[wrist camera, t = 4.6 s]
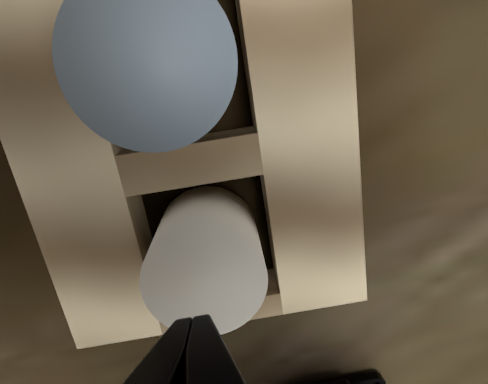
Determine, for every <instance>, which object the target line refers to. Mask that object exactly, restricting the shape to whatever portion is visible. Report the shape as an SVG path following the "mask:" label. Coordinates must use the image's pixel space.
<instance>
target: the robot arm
mask: <svg viewBox="0 0 488 384" xmlns="http://www.w3.org/2000/svg"><path fill="white" fill-rule="evenodd" d="M373 383H374V384H386V383H385V381H384V379H383V377H382V375H381V374H380V373H377V372H372V373H366V374H360V375H354V376H348V377H342V378H337V379H331V380H325V381H319V382H313V383H307V384H373ZM122 384H246V382H245V380H244V378H243V376H242V374H241V372H240V371H239V369H238V367H237V365H236V363H235V361H234V359H233V357H232V356H231V354H230V352H229V350H228V348H227V346H226V344H225V342H224V341H223V339H222V337H221V335H220V333H219V331H218V329H217V327H216V325H215V324H214V322H213V320H212V318H211V316H210V315H209V314H205V315H199V316H195V317H193V319H192V318H191V317H187V318H181V319H177V320H175V321H174V322H173V323H172V325H171V326H170V327H169V328H168V329H167V331H166V332H165V333H164V334H163V335H162V337H161V338H160V339H159V340H158V341H157V343H156V344H155V345H154V346H153V347H152V349H151V350H150V351H149V352H148V353H147V355H146V356H145V357H144V358H143V359H142V361H141V362H140V363H139V364H138V365H137V367H136V368H135V369H134V370H133V371H132V373H131V374H130V375H129V376H128V377H127V379H126V380H125V381H124V382H123V383H122Z"/></svg>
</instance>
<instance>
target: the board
mask: <svg viewBox="0 0 488 384" xmlns="http://www.w3.org/2000/svg"><path fill="white" fill-rule="evenodd" d="M63 1H64V0H0V140H1V143H2V146H3V148H4V151H5V154H6V157H7V159H8V162H9V165H10V167H11V170H12V173H13V176H14V178H15V181H16V184H17V187H18V189H19V192H20V195H21V197H22V200H23V203H24V206H25V208H26V211H27V214H28V216H29V219H30V222H31V225H32V227H33V230H34V233H35V235H36V238H37V241H38V244H39V246H40V249H41V252H42V254H43V257H44V260H45V263H46V265H47V268H48V271H49V274H50V276H51V279H52V282H53V284H54V287H55V290H56V293H57V295H58V298H59V301H60V303H61V306H62V309H63V312H64V314H65V317H66V320H67V322H68V325H69V328H70V331H71V333H72V336H73V339H74V341H75V344H76V347H77V349H82V348H87V347H93V346H99V345H105V344H111V343H117V342H123V341H129V340H135V339H141V338H147V337H153V336H159V335H163V334H164V333H165V332H166V331H167V329H168V327H166V326H165V325H163V324H162V323H161V322H159V321H158V320H157V319H156V318H155V317H154V316H153V315H152V314H151V312H150V311H149V310H148V308H147V307H146V305H145V303H144V301H143V298H142V295H141V291H140V285H139V277H140V270H141V266H142V263H143V261H144V259H145V256H146V254H147V252H148V250H149V247H150V245H151V243H152V240H153V239H152V235H151V231H150V228H149V224H148V220H147V216H146V212H145V208H144V204H143V200H142V196H141V195H142V194H148V193H154V192H160V191H167V190H173V189H179V188H185V187H191V186H197V185H203V184H209V183H215V182H222V181H228V180H234V179H240V178H246V177H252V176H258V175H260V178H261V185H262V192H263V199H264V206H265V213H266V220H267V227H268V234H269V241H270V248H271V255H272V262H273V269H267V273H268V288H267V292H266V296H265V299H264V301H263V303H262V305H261V307H260V308H259V310H258V311H257V313H256V314H255V315H254V316H253V317H252V318H251V319H250V320H253V319H259V318H265V317H271V316H277V315H283V314H289V313H295V312H301V311H307V310H313V309H319V308H324V307H330V306H336V305H342V304H348V303H354V302H360V301H366V300H367V286H366V267H365V247H364V228H363V208H362V189H361V169H360V150H359V130H358V111H357V92H356V72H355V53H354V33H353V14H352V0H235V4H236V11H237V18H238V25H239V32H240V39H241V46H242V53H243V60H244V67H245V74H246V81H247V88H248V95H249V102H250V109H251V116H252V123H253V126H249V127H243V128H237V129H231V130H224V131H218V132H212V133H207V134H205V135H204V136H203V137H201V138H200V139H198V140H197V141H195V142H193V143H191V144H189V145H187V146H185V147H182V148H179V149H176V150H172V151H168V152H159V153H147V152H139V151H133V150H129V149H126V148H122V147H120V146H117V145H115V144H113V143H111V142H109V141H107V140H105V139H104V138H102V137H100V136H99V135H98V134H96V133H95V132H93V131H92V130H91V129H90V128H89V127H88V126H87V125H85V124H84V123H83V122H82V121H81V120H80V118H79V117H78V116H77V115H76V114H75V112H74V111H73V110H72V108H71V107H70V105H69V104H68V102H67V101H66V99H65V97H64V95H63V93H62V91H61V89H60V86H59V83H58V80H57V78H56V74H55V70H54V65H53V57H52V36H53V29H54V24H55V21H56V17H57V14H58V12H59V9H60V7H61V5H62V3H63Z"/></svg>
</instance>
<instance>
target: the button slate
mask: <svg viewBox="0 0 488 384" xmlns="http://www.w3.org/2000/svg"><path fill="white" fill-rule="evenodd" d="M52 57H53V65H54V70H55V74H56V78H57V80H58V83H59V86H60V89H61V91H62V93H63V95H64V97H65V99H66V101H67V102H68V104H69V105H70V107H71V108H72V110H73V111H74V112H75V114H76V115H77V116H78V117H79V118H80V120H81V121H82V122H83V123H84V124H85V125H87V126H88V127H89V128H90V129H91V130H92V131H93V132H95V133H96V134H98V135H99V136H100V137H102V138H104V139H105V140H107V141H109V142H111V143H113V144H115V145H117V146H120V147H122V148H126V149H129V150H133V151H139V152H147V153H159V152H168V151H172V150H176V149H179V148H182V147H185V146H187V145H189V144H191V143H193V142H195V141H197V140H198V139H200V138H201V137H203V136H204V135H205V134H207V133H208V132H209V131H210V130H211V129H212V128H213V127H214V126H215V125H216V124H217V122H218V121H219V120H220V119H221V117H222V116H223V114H224V112H225V111H226V109H227V107H228V105H229V103H230V101H231V98H232V96H233V92H234V89H235V86H236V80H237V73H238V56H237V47H236V42H235V37H234V34H233V31H232V28H231V25H230V22H229V20H228V18H227V16H226V14H225V12H224V10H223V9H222V7H221V6H220V4H219V3H218V1H217V0H64V1H63V3H62V5H61V7H60V9H59V12H58V14H57V17H56V21H55V24H54V29H53V36H52Z"/></svg>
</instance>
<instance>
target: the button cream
mask: <svg viewBox="0 0 488 384" xmlns="http://www.w3.org/2000/svg"><path fill="white" fill-rule="evenodd" d="M139 285H140V291H141V295H142V298H143V301H144V303H145V305H146V307H147V308H148V310H149V311H150V312H151V314H152V315H153V316H154V317H155V318H156V319H157V320H158V321H159V322H161V323H162V324H163V325H165V326H166V327H168V328H169V327H170V326H171V325H172V323H173V322H174V321H175V320H177V319H181V318H187V317H191V318H192V319H193V317H195V316H199V315H205V314H209V315H210V316H211V318H212V320H213V322H214V324H215V325H216V327H217V329H218V331H219V333H220V335H222V334H225V333H228V332H231V331H233V330H235V329H237V328H239V327H241V326H242V325H244V324H245V323H246V322H248V321H249V320H250V319H251V318H252V317H253V316H254V315H255V314H256V313H257V311H258V310H259V308H260V307H261V305H262V303H263V301H264V299H265V296H266V292H267V288H268V273H267V268H266V264H265V260H264V256H263V252H262V248H261V243H260V239H259V235H258V231H257V227H256V223H255V218H254V216H253V213H252V211H251V209H250V208H249V206H248V205H247V204H246V202H245V201H244V200H243V199H242V198H240V197H239V196H238V195H237V194H235V193H233V192H231V191H229V190H227V189H224V188H221V187H215V186H201V187H196V188H192V189H190V190H187V191H185V192H183V193H181V194H180V195H179V196H177V197H176V198H175V199H174V200H173V201H172V202H171V203H170V204H169V205H168V207H167V209H166V210H165V212H164V215H163V217H162V219H161V222H160V224H159V226H158V229H157V231H156V233H155V236H154V238H153V240H152V243H151V245H150V247H149V250H148V252H147V254H146V256H145V259H144V261H143V263H142V266H141V270H140V277H139Z"/></svg>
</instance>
